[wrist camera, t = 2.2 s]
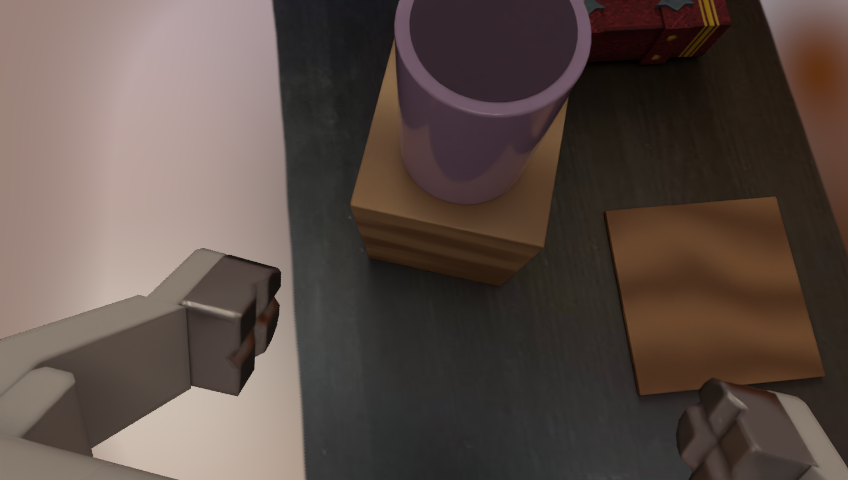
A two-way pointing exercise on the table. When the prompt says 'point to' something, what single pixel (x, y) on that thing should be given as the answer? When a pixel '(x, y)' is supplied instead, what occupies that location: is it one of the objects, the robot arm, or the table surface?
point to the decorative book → (654, 28)
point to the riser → (449, 207)
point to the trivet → (710, 295)
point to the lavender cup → (482, 88)
